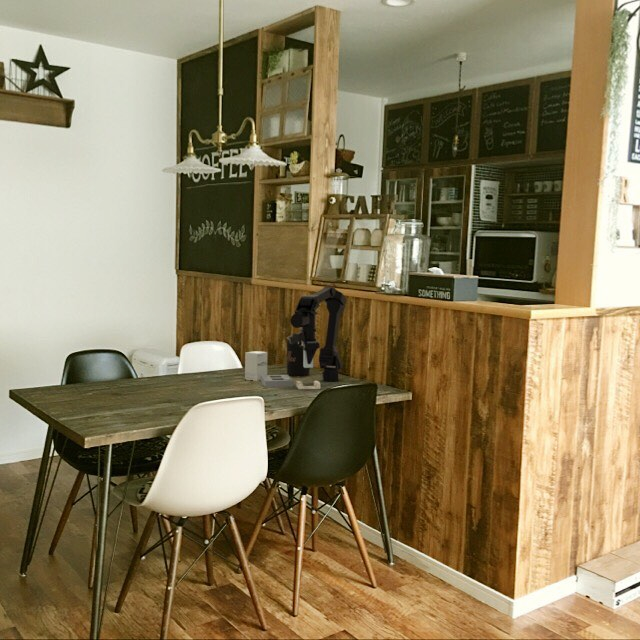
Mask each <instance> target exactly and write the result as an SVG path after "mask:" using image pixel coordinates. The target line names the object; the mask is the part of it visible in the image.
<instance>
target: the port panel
mask: <svg viewBox="0 0 640 640" xmlns="http://www.w3.org/2000/svg"><path fill="white" fill-rule="evenodd" d="M260 383H261V384H262V386H263V387H264V388H267V389H268V388H271V389H273V388H276V389H277V388H294V380H293V379H292V376H289V375H288V374H267V375H261V380H260Z"/></svg>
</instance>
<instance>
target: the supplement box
mask: <svg viewBox="0 0 640 640" xmlns="http://www.w3.org/2000/svg"><path fill="white" fill-rule="evenodd" d="M244 354H245V356H244V358H245V360H244V364H245V365H244V380H245V379H246V381H250V380H253V382H258V381H259V380H260V381H261V375H268V352H267V351H259V350H258V351H257V350H255V351H247V352H244ZM260 381H259V382H260Z"/></svg>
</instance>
